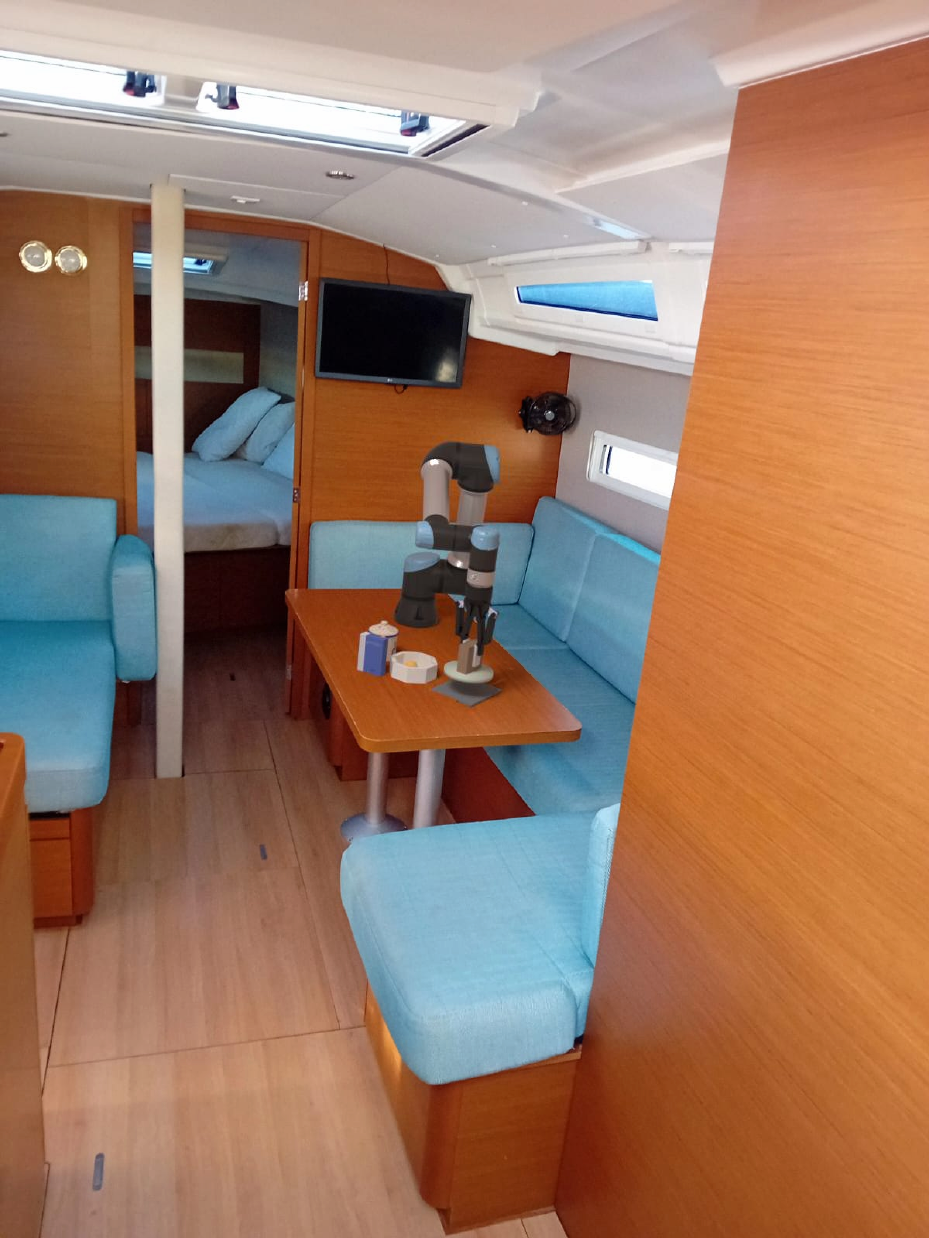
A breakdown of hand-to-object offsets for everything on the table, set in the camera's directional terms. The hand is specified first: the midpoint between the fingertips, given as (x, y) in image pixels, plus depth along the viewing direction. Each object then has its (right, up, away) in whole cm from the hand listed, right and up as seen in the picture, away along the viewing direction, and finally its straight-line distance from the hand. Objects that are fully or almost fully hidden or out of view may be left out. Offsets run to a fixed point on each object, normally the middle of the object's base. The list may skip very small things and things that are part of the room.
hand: (469, 663), depth 262 cm
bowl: (-17, -4, +9) cm, 19 cm away
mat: (-1, -8, +3) cm, 9 cm away
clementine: (-17, -3, +9) cm, 20 cm away
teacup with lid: (-27, +1, +21) cm, 34 cm away
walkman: (-29, -4, +7) cm, 30 cm away
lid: (0, -3, +1) cm, 3 cm away
